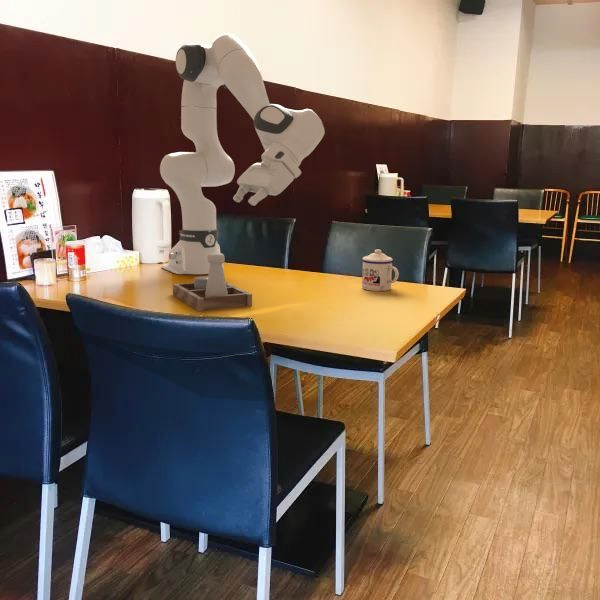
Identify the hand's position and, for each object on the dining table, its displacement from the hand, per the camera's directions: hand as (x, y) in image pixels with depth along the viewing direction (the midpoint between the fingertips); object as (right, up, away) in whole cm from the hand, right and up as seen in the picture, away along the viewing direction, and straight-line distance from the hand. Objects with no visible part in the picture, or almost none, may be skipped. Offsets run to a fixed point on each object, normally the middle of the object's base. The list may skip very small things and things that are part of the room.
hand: (242, 202), depth 156 cm
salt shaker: (-7, -26, +2) cm, 27 cm away
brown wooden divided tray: (-9, -26, +6) cm, 28 cm away
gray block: (-11, -24, +10) cm, 28 cm away
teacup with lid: (+38, -22, +28) cm, 52 cm away
